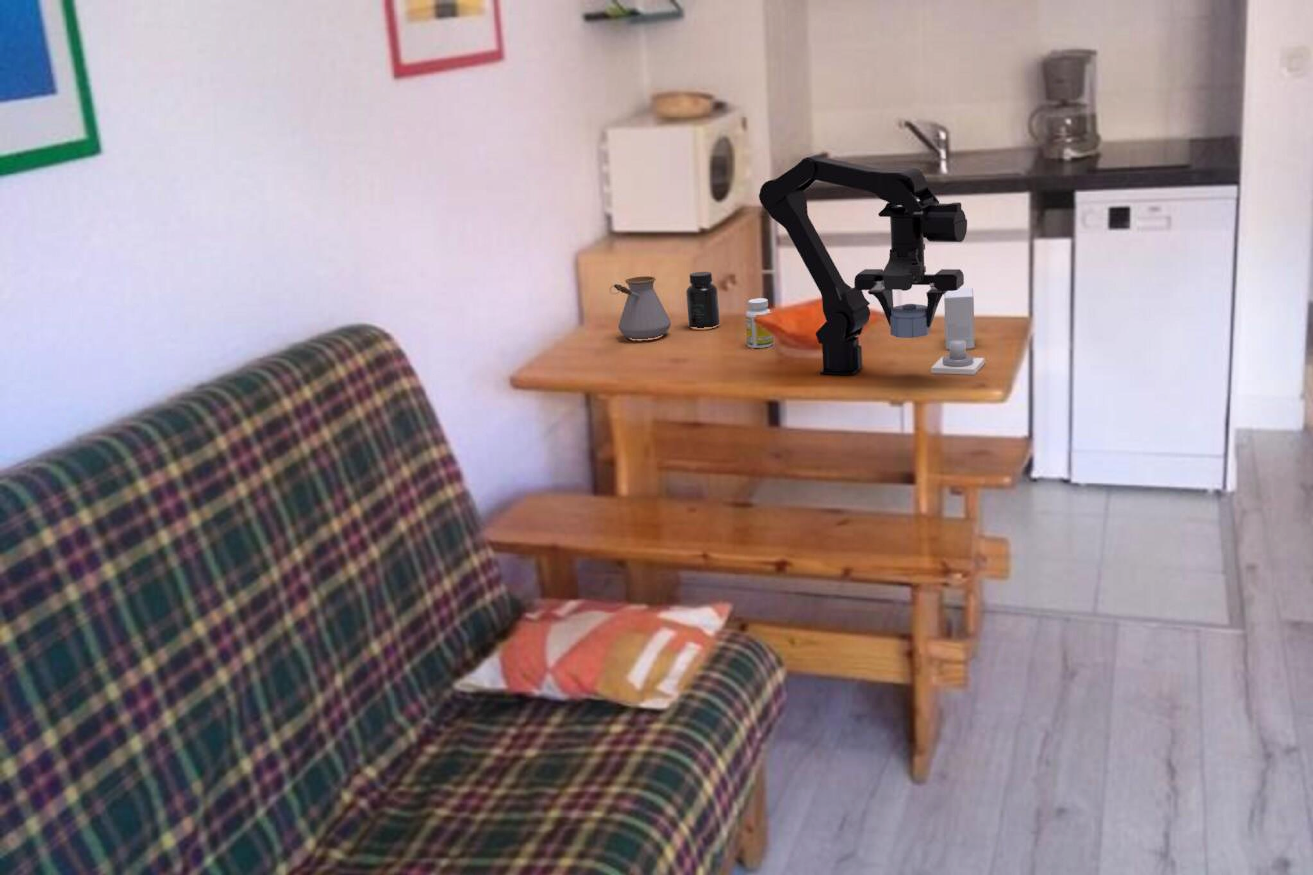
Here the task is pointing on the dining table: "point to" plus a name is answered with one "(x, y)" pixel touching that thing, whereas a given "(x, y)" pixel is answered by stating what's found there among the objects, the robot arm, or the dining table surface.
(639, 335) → the coffee pot
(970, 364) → the two-tone square knobbed fixture
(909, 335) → the cap
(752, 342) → the supplement bottle
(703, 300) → the supplement bottle
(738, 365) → the dining table surface
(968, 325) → the small box
